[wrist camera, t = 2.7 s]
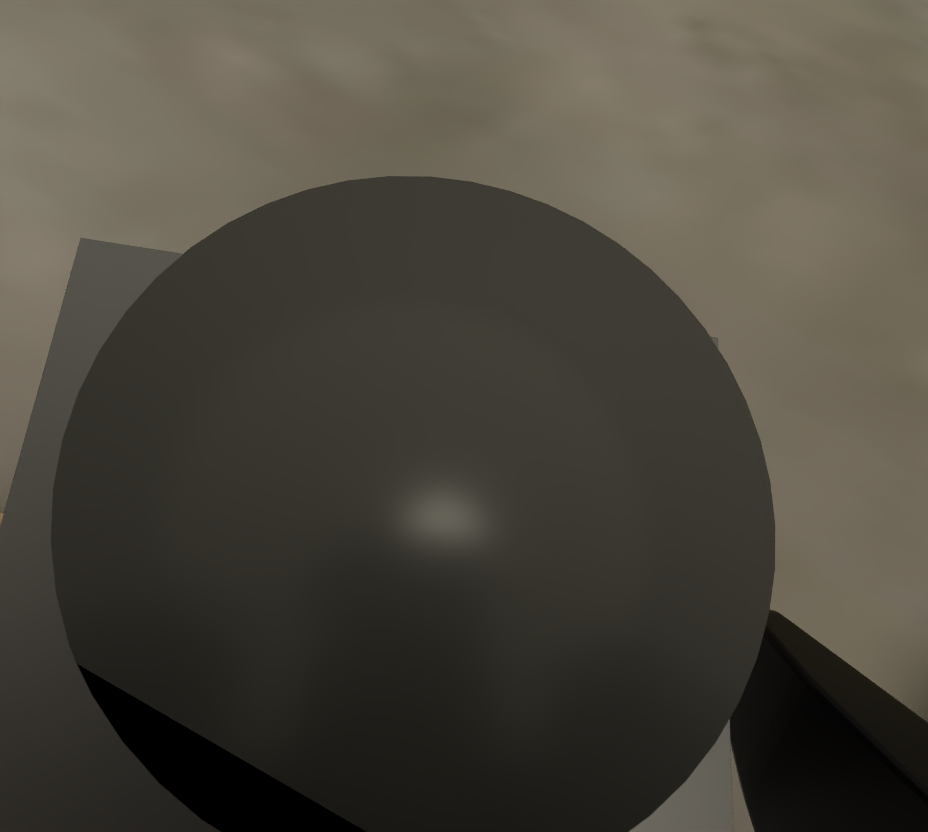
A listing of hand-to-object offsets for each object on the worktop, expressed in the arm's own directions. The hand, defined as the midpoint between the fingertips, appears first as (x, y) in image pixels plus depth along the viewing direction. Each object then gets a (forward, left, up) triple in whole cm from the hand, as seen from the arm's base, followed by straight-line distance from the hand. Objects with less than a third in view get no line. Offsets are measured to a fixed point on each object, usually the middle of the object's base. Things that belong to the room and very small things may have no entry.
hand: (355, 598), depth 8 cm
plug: (0, 0, -7) cm, 7 cm away
